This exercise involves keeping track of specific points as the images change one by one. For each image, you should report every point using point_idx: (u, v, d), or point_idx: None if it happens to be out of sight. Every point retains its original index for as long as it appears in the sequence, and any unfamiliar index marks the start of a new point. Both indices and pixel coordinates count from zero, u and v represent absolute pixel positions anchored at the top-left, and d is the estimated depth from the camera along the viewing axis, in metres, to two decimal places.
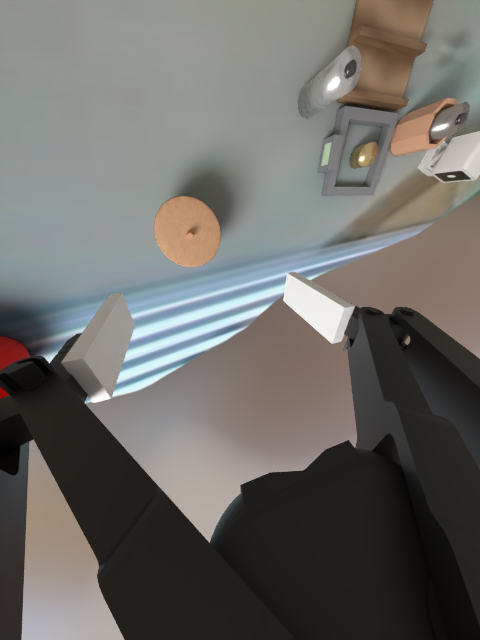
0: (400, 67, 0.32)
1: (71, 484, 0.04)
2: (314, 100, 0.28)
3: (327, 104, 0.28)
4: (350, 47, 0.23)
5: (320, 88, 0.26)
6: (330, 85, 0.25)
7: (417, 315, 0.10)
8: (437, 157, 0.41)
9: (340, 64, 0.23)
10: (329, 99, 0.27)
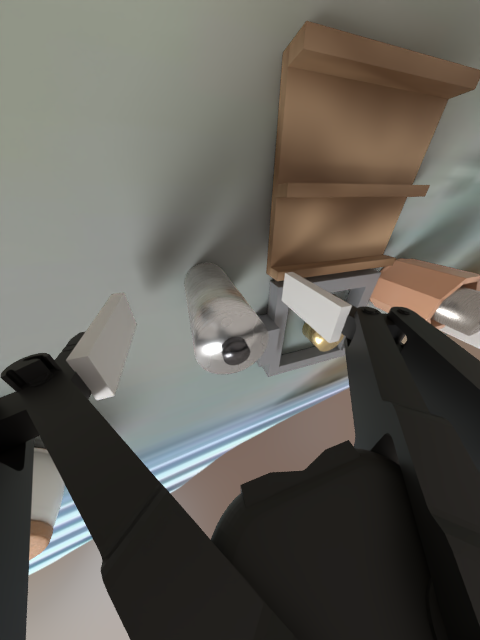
0: (380, 213, 0.17)
1: (76, 479, 0.04)
2: None
3: None
4: (224, 319, 0.08)
5: None
6: None
7: (413, 314, 0.10)
8: None
9: (205, 347, 0.09)
10: None
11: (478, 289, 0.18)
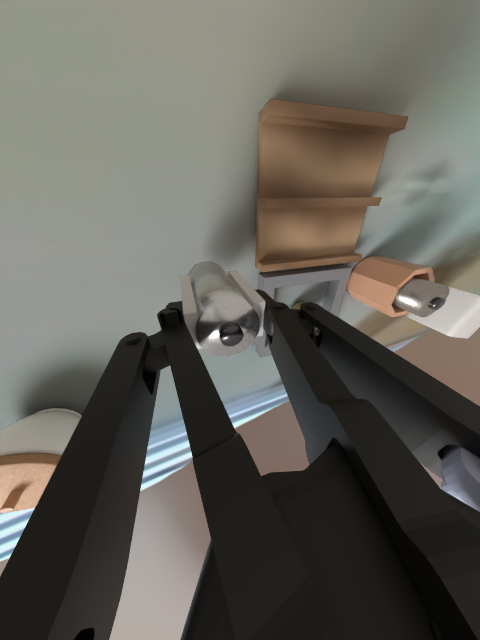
0: (346, 219, 0.22)
1: (184, 397, 0.06)
2: None
3: None
4: (220, 305, 0.10)
5: None
6: None
7: (318, 308, 0.10)
8: None
9: (205, 330, 0.10)
10: None
11: (431, 279, 0.22)
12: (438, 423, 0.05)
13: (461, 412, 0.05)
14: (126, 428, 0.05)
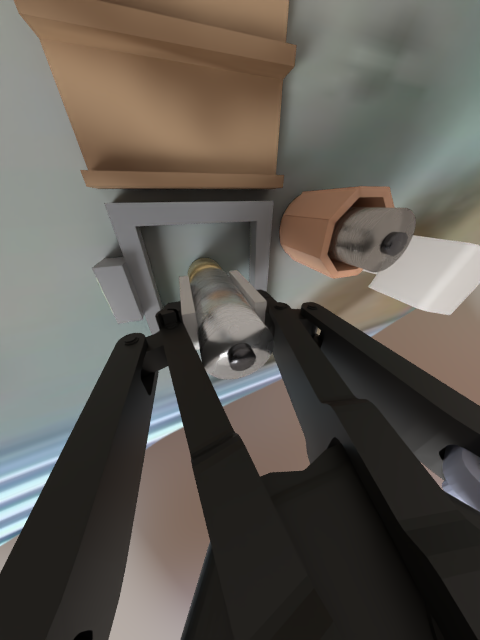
0: (247, 103, 0.13)
1: (182, 398, 0.06)
2: None
3: None
4: (231, 326, 0.08)
5: None
6: None
7: (320, 308, 0.10)
8: None
9: (212, 353, 0.09)
10: None
11: None
12: (440, 424, 0.05)
13: (462, 412, 0.05)
14: (124, 429, 0.05)
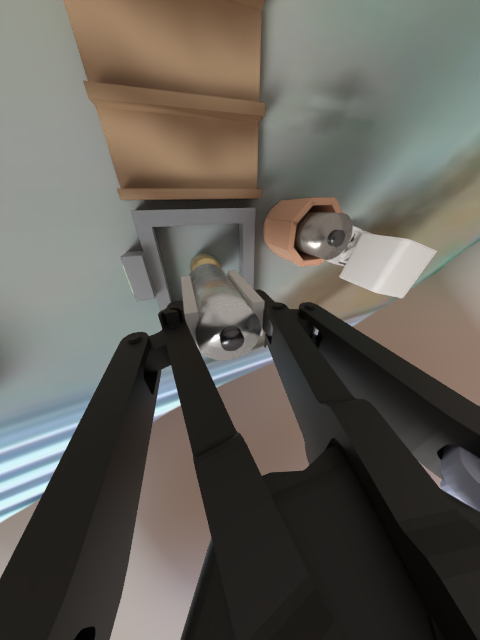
0: (233, 139, 0.18)
1: (184, 397, 0.06)
2: None
3: None
4: (222, 310, 0.10)
5: None
6: None
7: (317, 308, 0.10)
8: (350, 252, 0.27)
9: (206, 334, 0.10)
10: None
11: None
12: (438, 423, 0.05)
13: (460, 412, 0.05)
14: (127, 427, 0.05)
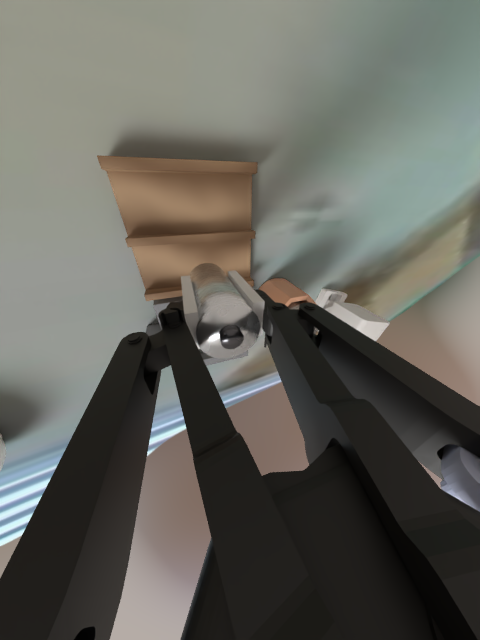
0: (231, 249, 0.23)
1: (184, 397, 0.06)
2: None
3: None
4: (221, 309, 0.10)
5: None
6: None
7: (317, 308, 0.10)
8: (327, 310, 0.33)
9: (205, 333, 0.10)
10: None
11: None
12: (438, 424, 0.05)
13: (460, 412, 0.05)
14: (127, 428, 0.05)
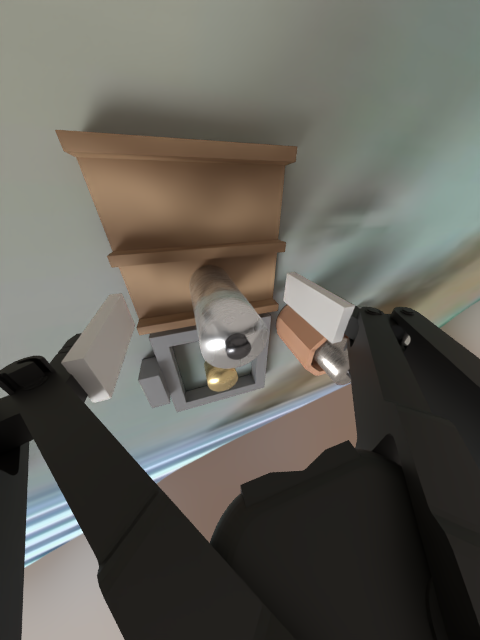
0: (251, 265, 0.17)
1: (71, 484, 0.04)
2: None
3: None
4: (226, 317, 0.09)
5: None
6: None
7: (417, 315, 0.10)
8: None
9: (210, 343, 0.10)
10: None
11: None
12: None
13: None
14: None
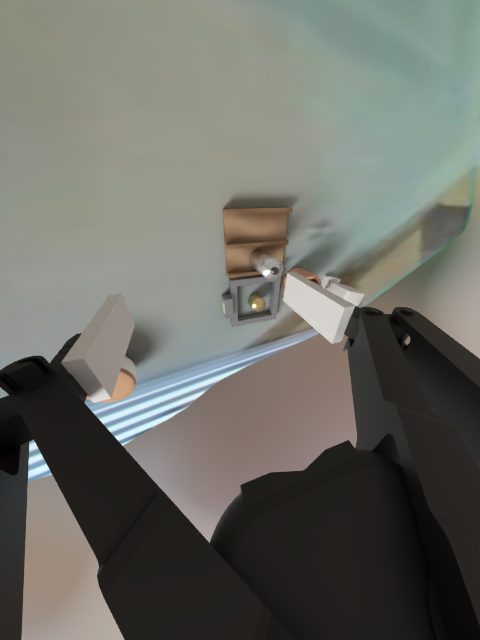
0: (273, 250, 0.41)
1: (71, 484, 0.04)
2: (257, 270, 0.38)
3: None
4: (272, 260, 0.33)
5: (258, 270, 0.36)
6: (263, 275, 0.35)
7: (417, 315, 0.10)
8: (327, 289, 0.51)
9: (267, 269, 0.33)
10: None
11: (319, 281, 0.42)
12: None
13: None
14: None
